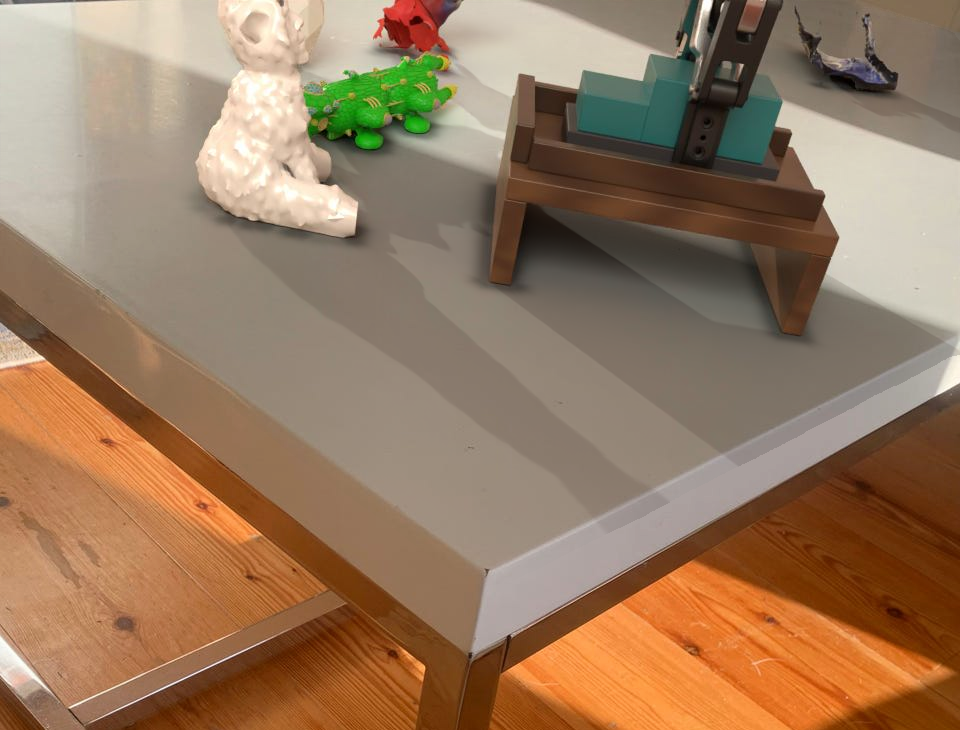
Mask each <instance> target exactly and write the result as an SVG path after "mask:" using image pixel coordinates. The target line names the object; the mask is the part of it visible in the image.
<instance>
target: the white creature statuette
mask: <svg viewBox="0 0 960 730" xmlns="http://www.w3.org/2000/svg"><path fill="white" fill-rule="evenodd" d="M224 5H225V9H226V12H227V16H226V19H225V26H226V30H227V34H228V37H229V39H230V40H229V39H228V40H229V44H230V47H231V48H232V50H233V51H234V53H235V56H236V61H237V62H238V63H239V64H240V65H241V66H242V68H243V69H241V70H240V71H239V72H238V73H237V75H236V76H235V77H234V78H233V79H232V80H231V84H230V85H231V86H230V87H229V88H228V90H227V99H226V101H225V102H224V103H223V107H222V108H221V111H220V112H221V113H220V114H221V115H220V118H219V119H218V120H216V123H215V124H214V125H213V126H212V127H211V129H210V130H209V133H208V136H207V137H206V139H204V141H203V142H204V143H203V146H202V148H201V149H200V151H198V155H199V156H198V158H197V159H196V160H195V162H194V163H195V165H196V168H197V169H196V172H197V173H198V183H199V185H201V186H202V188H203V189H204V190H203V191H204V193H205V195H206V196H207V197H208V198H209V199H210V201H213V202H215V203H216V204H218V205H219V206H220V207H221V208H222V209H223V210H224V211H225V212H229V214H231V215H232V216H235V217H236V218H245V219H248V220H249V221H252V222H253V221H254V222H256V221H260V222H263V223H268V224H272V225H276V226H282V227H287V228H293V229H297V230H302V231H308V232H312V233H316V234H317V233H318V234H321V235H327V236H331V237H336V238H343V239H344V238H347V237H353V236H355V235H356V227H357V219H358V210H359V201H358V200H356V199H354V198H353V197H352V196H350V195H348V194H347V193H345V192H344V190H343V189H342V188H340V186H339V185H338V184H333V185H327V184H324V183H325V182H326V181H327V180H328V178H329V177H330V175H331V172H332V171H331V170H332V158H331V155H330V153H329V151H327V150H325V149H323V148H321V147H319V146H317V145H316V144H315V143H314V142H311V143H310V141H312V139H311V137H310V138H309V136H308V125H309V123H310V122H311V115H310V114H309V113H308V107H306V103H305V98H304V93H303V87H304V86H303V80H302V75H301V74H300V72H299V70H298V68H297V67H299V66H301V65H307V64H308V63H309V62H310V54H308V52H307V50H306V42H305V40H304V37H305V36H304V34H303V32H302V31H301V29H300V28H301V27H302V26H303V25H304V20H303V19H302V18H301V17H300V16H299V15H297V14H296V13H295V12H293V11H292V10H290V9H289V6H288V1H287V0H230V1H227V2H226V3H225V4H224ZM228 37H227V38H228ZM322 183H323V184H322Z"/></svg>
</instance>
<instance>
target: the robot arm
mask: <svg viewBox="0 0 960 730" xmlns="http://www.w3.org/2000/svg"><path fill="white" fill-rule="evenodd" d="M783 6H784V0H684V5H683V8H682V12H681V18H680V23H679V27H678V30H677V31H676V33H675V38H674V39H675V47H676V48H678V49H676V53H675V57H674V58H676V59H681V60H686V61H692V62H695V66H694V71H693V76H692V80H691V84H689V87H688V92H687V94H689V95H688V101H687V105H686V108H685V112H684V115H683V119H682V122H681V126H680V130H679V133H678V137H677V140H676V144H675V148H674V152H673V156H672V163H677V164H683V165H688V166H694V167H699V168H704V169H710V170H712V167H713V163H714V160H715V157H716V154H717V150H718V147H719V144H720V140H721V137H722V134H723V130H724V127H725V124H726V120H727V117H728V114H729V111H730V110H734V108H735V107H738V108H743V106H744V104H745V102H746V101H747V99H748V96H749V91H750V88H751V86H752V83H753V80H754V78H755V75H756V74H757V72H758V70H759V67H760V64H761V61H762V59H763V56H764V53H765V50H766V48H767V45H768V43H769V40H770V37H771V34H772V32H773V29H774V27H775V24H776V21H777V19H778V16H779V13H780V12H781V11H782V8H783ZM725 62H729V63H730V64H731V68H730V69H731V72H730V76H729V80H728V79H723V78H717V77H715V74H716V71H717V68H718V67H724V63H725ZM729 109H730V110H729Z"/></svg>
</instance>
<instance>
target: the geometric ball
mask: <svg viewBox="0 0 960 730" xmlns="http://www.w3.org/2000/svg"><path fill="white" fill-rule="evenodd" d="M227 1H230V0H218V6H217V19H218V21H219V23H220V25H221V27H222V29H223V31H224V34H225V36H226V37H227V39H228V41H230V39H229V37H228V34H227V30H226V26H225V19H226V16H227V12H226V9H225V5H224V4H225V3H226V2H227ZM287 1H288V6H289V9H290V10H292V11H293V12H295V13H296V14H297V15H299V16H300V17H301V18H302V19H303V20H304V25H303V26H302V27H301V28H300V29H301V31H302V32H303V34H304V36H305V37H304V40H305V42H306V50H307V52H308V54H309V55H311V53H312V51H313V49H314V47H315V44H316V42H317V40H318V38H319V36H320V34H321V31H322V29H323V26H324V23H325V2H324V0H287Z"/></svg>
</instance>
